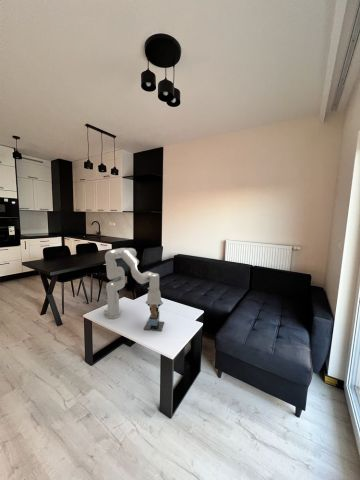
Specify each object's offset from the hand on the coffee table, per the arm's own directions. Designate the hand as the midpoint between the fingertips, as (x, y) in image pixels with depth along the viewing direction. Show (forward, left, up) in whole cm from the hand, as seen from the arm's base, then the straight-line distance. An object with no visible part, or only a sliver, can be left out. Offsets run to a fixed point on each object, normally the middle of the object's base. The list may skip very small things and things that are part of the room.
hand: (154, 311), depth 153 cm
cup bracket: (0, +2, -14) cm, 14 cm away
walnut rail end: (0, 0, -5) cm, 5 cm away
